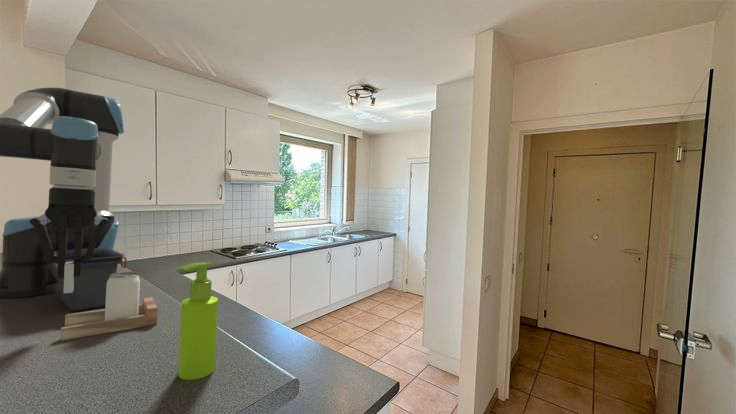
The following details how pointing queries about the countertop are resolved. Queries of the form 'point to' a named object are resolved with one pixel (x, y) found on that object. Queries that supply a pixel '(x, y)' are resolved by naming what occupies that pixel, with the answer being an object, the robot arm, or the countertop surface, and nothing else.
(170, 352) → the countertop surface
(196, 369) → the soap dispenser
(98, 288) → the storage bin
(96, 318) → the guide lane
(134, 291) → the can
